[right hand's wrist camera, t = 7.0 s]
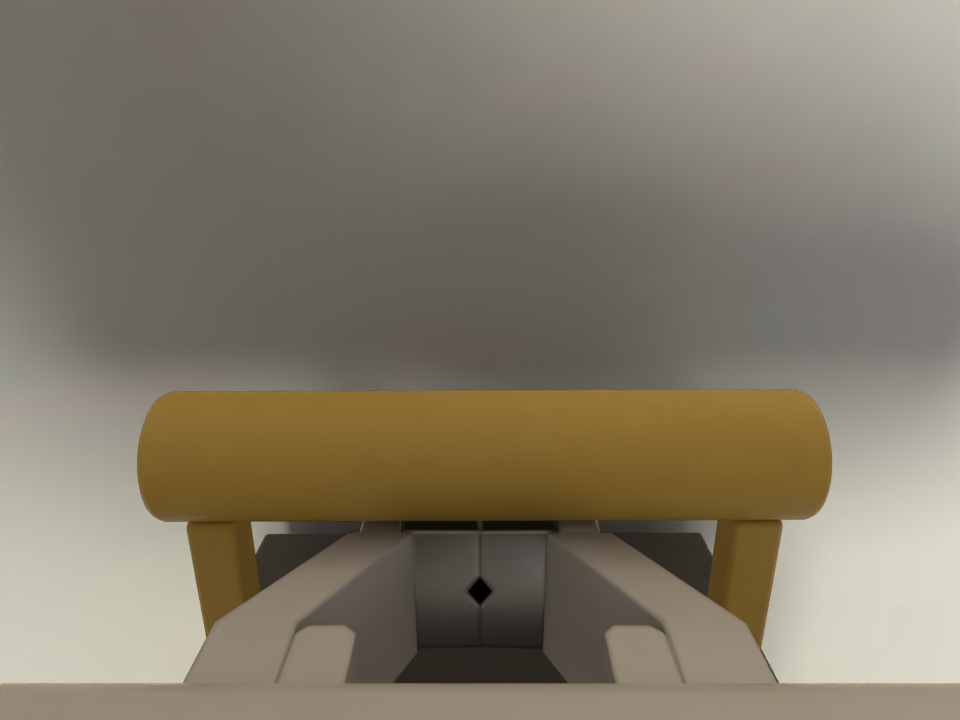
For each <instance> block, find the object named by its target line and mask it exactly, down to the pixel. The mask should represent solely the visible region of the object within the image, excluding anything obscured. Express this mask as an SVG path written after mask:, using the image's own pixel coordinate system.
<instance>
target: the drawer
mask: <svg viewBox="0 0 960 720" xmlns="http://www.w3.org/2000/svg"><path fill="white" fill-rule="evenodd" d="M137 473H138V483H139V489H140V493H141V496H142V499H143V502H144V504H145V506H146V508H147V510H148V511H149V512H150V514H151V515H152V516H154V517H155V518H157V519H159V520H161V521H165V522H188V524H187V533H188V539H189V544H190V550H191V555H192V561H193V566H194V572H195V577H196V583H197V588H198V594H199V600H200V605H201V611H202V616H203V622H204V627H205V633H206V638H207V636H208V634H209V632H210V630H211V628H212V627H213V625H214V623H215V622H216V621H218V620H219V619H221V618H222V617H224V616H225V615H227V614H228V613H230V612H231V611H233V610H234V609H236V608H237V607H239V606H240V605H242V604H243V603H245V602H246V601H248V600H249V599H251V598H252V597H254V596H255V595H257V594H258V593H260V592H261V591H263V590H264V589H266V588H267V587H269V586H270V585H272V584H273V583H275V582H276V581H278V580H279V579H281V578H282V577H284V576H285V575H287V574H288V573H290V572H291V571H293V570H294V569H296V568H297V567H299V566H300V565H302V564H303V563H305V562H306V561H308V560H309V559H311V558H312V557H314V556H315V555H317V554H318V553H320V552H321V551H323V550H324V549H326V548H327V547H329V546H330V545H332V544H333V543H335V542H336V541H338V540H339V539H341V538H342V537H344V536H345V535H347V534H267V535H265V537H264V539H263V541H262V543H261V545H260V547H259V549H258V551H257V553H256V555H255V549H254V542H253V535H252V528H251V521H548V520H718V522H717V530H716V537H715V544H714V551H713V556H712V554H711V552H710V550H709V549H708V547H707V545H706V543H705V541H704V539H703V537H702V535H701V534H700V533H612V534H613V535H615V536H616V537H618V538H619V539H621V540H622V541H624V542H625V543H627V544H628V545H630V546H631V547H633V548H634V549H636V550H637V551H639V552H640V553H642V554H643V555H645V556H646V557H648V558H649V559H651V560H652V561H654V562H655V563H657V564H658V565H660V566H661V567H663V568H664V569H666V570H667V571H669V572H670V573H672V574H673V575H675V576H676V577H678V578H679V579H681V580H682V581H684V582H685V583H687V584H688V585H690V586H691V587H693V588H694V589H696V590H697V591H699V592H700V593H702V594H703V595H705V596H706V597H708V598H709V599H711V600H712V601H714V602H715V603H717V604H718V605H719V606H721V607H722V608H724V609H725V610H727V611H728V612H730V613H731V614H733V615H734V616H736V617H737V618H739V619H740V620H742V621H743V622H745V623H746V624H747V626H748V628H749V630H750V632H751V634H752V635H753V637H754V639H755V641H756V643H757V645H758V647H759V649H760V651H761V653H762V655H763V657H764V658H765V660H766V662H767V664H768V666H769V668H770V670H771V672H772V674H773V676H774V678H775V680H776V682H777V683H779V682H778V680H777V678H776V676H775V674H774V672H773V670H772V669H771V667H770V665H769V663H768V661H767V659H766V657H765V655H764V653H763V651H762V649H761V645H762V639H763V634H764V628H765V622H766V617H767V611H768V605H769V600H770V594H771V588H772V583H773V577H774V572H775V566H776V560H777V555H778V549H779V543H780V538H781V532H782V522H781V520H804V519H808V518H810V517H812V516H814V515H815V514H817V513H818V512H819V511H820V509H821V508H822V506H823V505H824V503H825V501H826V498H827V495H828V492H829V488H830V483H831V475H832V451H831V443H830V438H829V433H828V429H827V426H826V423H825V420H824V417H823V415H822V413H821V411H820V409H819V407H818V405H817V404H816V403H815V401H814V400H813V399H812V398H811V397H810V396H809V395H807V394H806V393H803V392H801V391H799V390H795V389H723V390H437V391H175V392H170V393H168V394H165V395H163V396H161V397H160V398H159V399H158V400H157V401H156V402H155V403H154V404H153V406H152V407H151V409H150V411H149V412H148V414H147V417H146V419H145V422H144V425H143V428H142V431H141V435H140V440H139V447H138V457H137ZM393 683H567V681H566V680H565V679H564V678H563V676H562V675H561V674H560V673H559V671H558V670H557V669H556V668H555V666H554V665H553V664H552V663H551V662H550V660H549V659H548V658H547V657H546V655H545V654H544V653H543V649H522V648H486V647H472V648H437V649H417V654H416V655H415V656H414V657H413V658H412V660H411V661H410V662H409V663H408V665H407V666H406V667H405V668H404V670H403V671H402V672H401V673H400V675H399V676H398V677H397V678H396V679H395V681H394V682H393Z"/></svg>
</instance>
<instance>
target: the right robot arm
mask: <svg viewBox="0 0 960 720" xmlns="http://www.w3.org/2000/svg"><path fill="white" fill-rule="evenodd" d="M472 647H486V648H522V649H543V653H544V654H545V655H546V657H547V658H548V659H549V660H550V662H551V663H552V664H553V665H554V666H555V668H556V669H557V670H558V671H559V673H560V674H561V675H562V676H563V678H564V679H565V680H566V681H567V683H393V682H394V681H395V679H396V678H397V677H398V676H399V675H400V673H401V672H402V671H403V670H404V668H405V667H406V666H407V665H408V663H409V662H410V661H411V660H412V658H413V657H414V656H415V655H416V654H417V649H437V648H472ZM0 720H960V683H777V682H776V680H775V678H774V676H773V674H772V672H771V670H770V668H769V666H768V664H767V662H766V660H765V658H764V657H763V655H762V653H761V651H760V649H759V647H758V645H757V643H756V641H755V639H754V637H753V635H752V634H751V632H750V630H749V628H748V626H747V624H746V623H745V622H743V621H742V620H740V619H739V618H737V617H736V616H734V615H733V614H731V613H730V612H728V611H727V610H725V609H724V608H722V607H721V606H719V605H718V604H717V603H715V602H714V601H712V600H711V599H709V598H708V597H706V596H705V595H703V594H702V593H700V592H699V591H697V590H696V589H694V588H693V587H691V586H690V585H688V584H687V583H685V582H684V581H682V580H681V579H679V578H678V577H676V576H675V575H673V574H672V573H670V572H669V571H667V570H666V569H664V568H663V567H661V566H660V565H658V564H657V563H655V562H654V561H652V560H651V559H649V558H648V557H646V556H645V555H643V554H642V553H640V552H639V551H637V550H636V549H634V548H633V547H631V546H630V545H628V544H627V543H625V542H624V541H622V540H621V539H619V538H618V537H616V536H615V535H613V534H612V533H610V532H600V529H599V526H598V522H597V520H548V521H363V522H362V525H361V529H360V532H350V533H348V534H347V535H345V536H344V537H342V538H341V539H339V540H338V541H336V542H335V543H333V544H332V545H330V546H329V547H327V548H326V549H324V550H323V551H321V552H320V553H318V554H317V555H315V556H314V557H312V558H311V559H309V560H308V561H306V562H305V563H303V564H302V565H300V566H299V567H297V568H296V569H294V570H293V571H291V572H290V573H288V574H287V575H285V576H284V577H282V578H281V579H279V580H278V581H276V582H275V583H273V584H272V585H270V586H269V587H267V588H266V589H264V590H263V591H261V592H260V593H258V594H257V595H255V596H254V597H252V598H251V599H249V600H248V601H246V602H245V603H243V604H242V605H240V606H239V607H237V608H236V609H234V610H233V611H231V612H230V613H228V614H227V615H225V616H224V617H222V618H221V619H219V620H218V621H216V622H215V623H214V625H213V627H212V628H211V630H210V632H209V634H208V636H207V638H206V640H205V642H204V644H203V646H202V647H201V649H200V651H199V653H198V655H197V657H196V659H195V661H194V663H193V665H192V666H191V668H190V670H189V672H188V674H187V676H186V678H185V680H184V682H183V683H0Z"/></svg>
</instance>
